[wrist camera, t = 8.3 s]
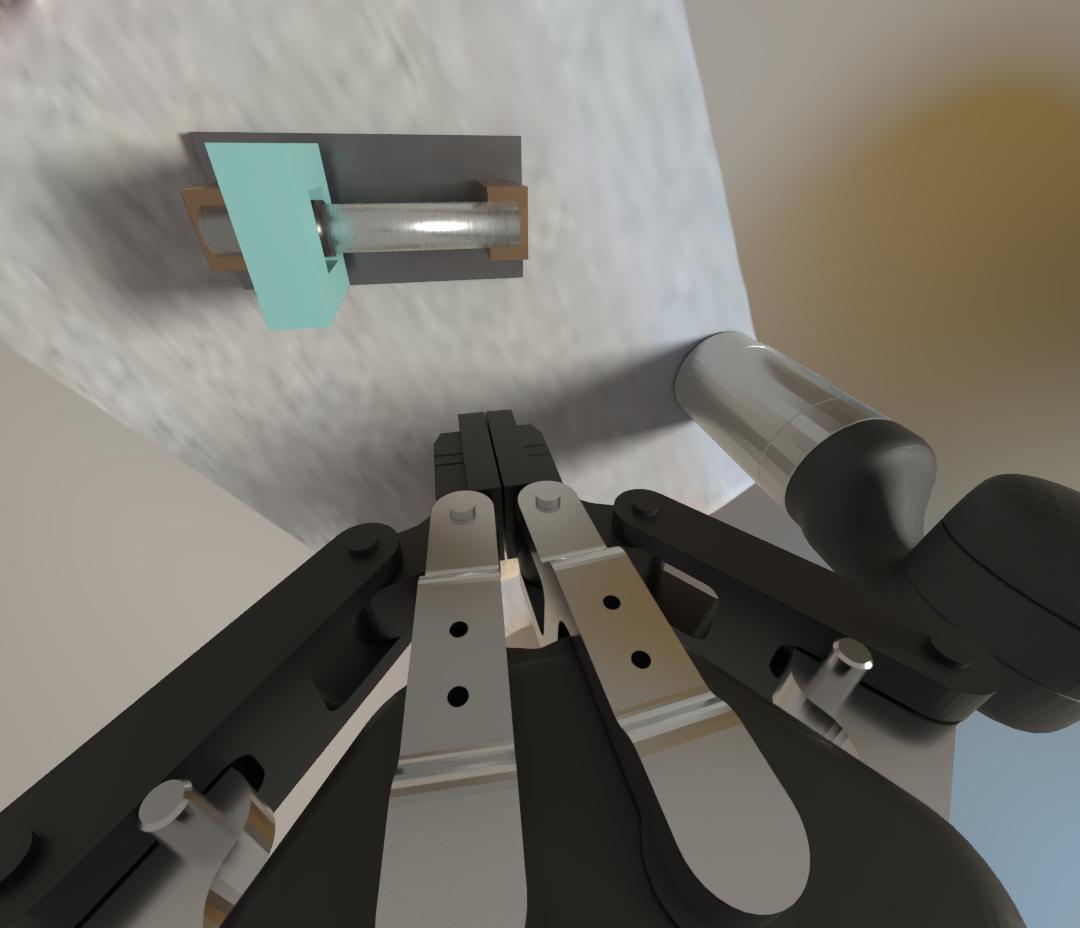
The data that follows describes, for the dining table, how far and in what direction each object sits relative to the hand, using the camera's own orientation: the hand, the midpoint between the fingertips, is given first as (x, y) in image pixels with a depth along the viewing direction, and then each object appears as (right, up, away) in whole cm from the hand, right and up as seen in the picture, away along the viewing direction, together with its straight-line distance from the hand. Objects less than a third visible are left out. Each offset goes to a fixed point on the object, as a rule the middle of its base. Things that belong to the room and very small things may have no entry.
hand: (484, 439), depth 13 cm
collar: (-13, +15, +16) cm, 25 cm away
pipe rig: (-10, +17, +19) cm, 27 cm away
